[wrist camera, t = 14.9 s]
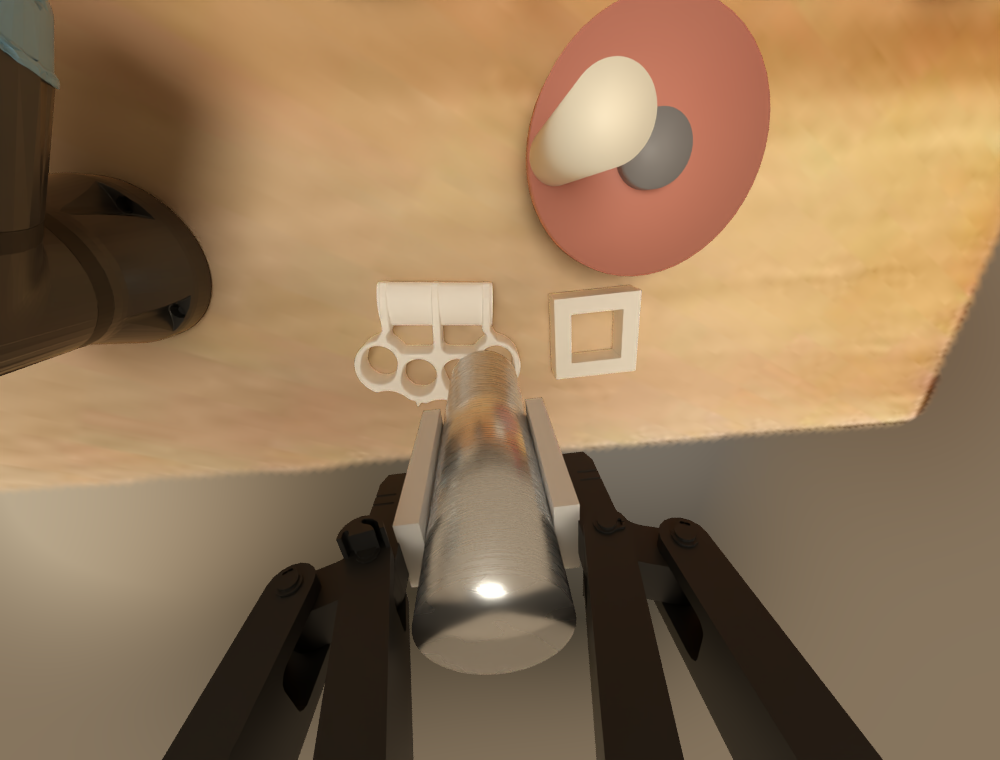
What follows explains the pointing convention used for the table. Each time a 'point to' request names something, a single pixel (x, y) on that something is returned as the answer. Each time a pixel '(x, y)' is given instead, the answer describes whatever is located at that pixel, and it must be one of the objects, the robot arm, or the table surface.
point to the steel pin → (490, 535)
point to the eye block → (623, 334)
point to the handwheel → (648, 134)
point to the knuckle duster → (436, 309)
